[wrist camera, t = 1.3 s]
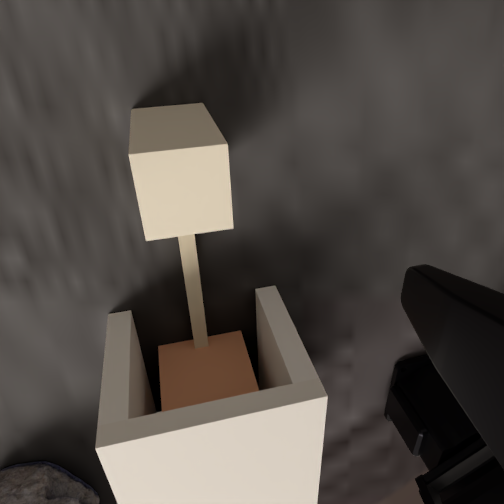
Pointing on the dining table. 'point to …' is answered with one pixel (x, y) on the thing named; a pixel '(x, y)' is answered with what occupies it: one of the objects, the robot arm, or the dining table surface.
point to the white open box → (214, 425)
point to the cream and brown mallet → (188, 241)
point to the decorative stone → (43, 485)
